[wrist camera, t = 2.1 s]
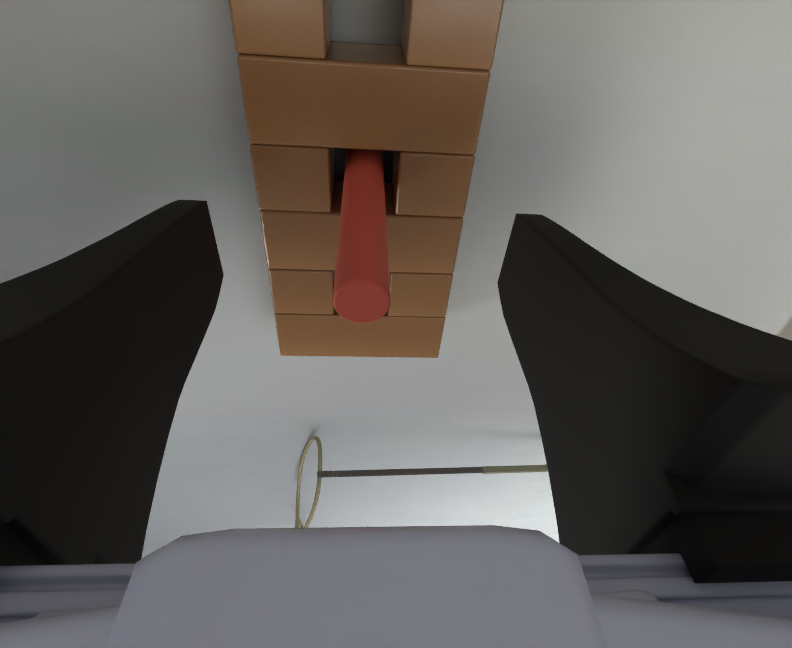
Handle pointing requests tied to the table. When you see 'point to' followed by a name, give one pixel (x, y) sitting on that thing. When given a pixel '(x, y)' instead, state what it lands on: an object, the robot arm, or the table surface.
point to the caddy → (363, 129)
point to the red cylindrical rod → (362, 241)
